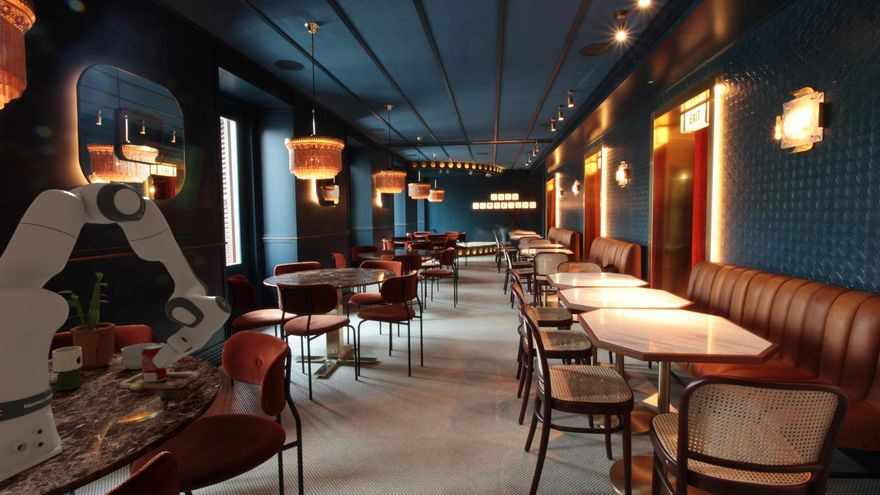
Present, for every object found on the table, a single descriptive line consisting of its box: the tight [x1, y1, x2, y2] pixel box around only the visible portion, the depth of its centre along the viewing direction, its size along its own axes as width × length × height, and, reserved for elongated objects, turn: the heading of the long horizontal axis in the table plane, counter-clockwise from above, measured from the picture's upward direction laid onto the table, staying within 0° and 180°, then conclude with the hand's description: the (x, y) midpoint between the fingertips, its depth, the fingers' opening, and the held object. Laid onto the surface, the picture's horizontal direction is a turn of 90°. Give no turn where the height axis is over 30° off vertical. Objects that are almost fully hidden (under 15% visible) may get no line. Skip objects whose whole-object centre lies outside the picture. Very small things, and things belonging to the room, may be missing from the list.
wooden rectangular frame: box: [115, 369, 202, 391], centre depth 144 cm, size 15×21×1 cm
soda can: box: [141, 343, 168, 384], centre depth 144 cm, size 7×7×12 cm
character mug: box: [51, 346, 83, 391], centre depth 138 cm, size 11×7×13 cm, turn 39°
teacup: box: [120, 342, 166, 371], centre depth 160 cm, size 14×11×8 cm
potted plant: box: [57, 272, 116, 370], centre depth 156 cm, size 17×16×35 cm
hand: (165, 365), depth 144 cm, fingers closed, pressing on soda can
